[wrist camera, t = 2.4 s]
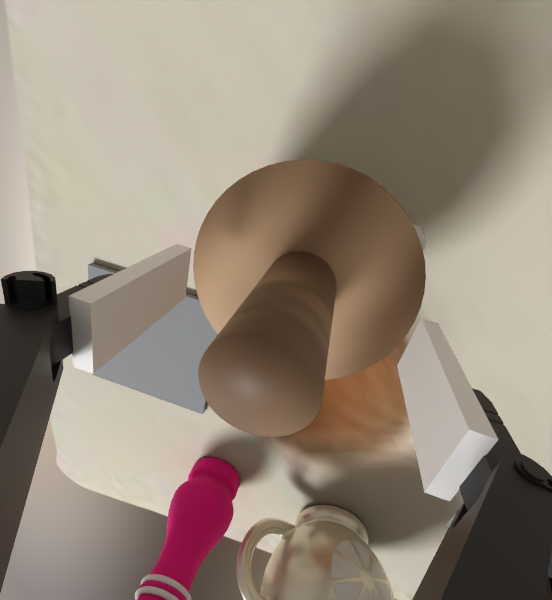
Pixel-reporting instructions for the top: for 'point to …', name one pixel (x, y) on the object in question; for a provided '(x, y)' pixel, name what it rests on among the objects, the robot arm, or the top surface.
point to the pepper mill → (192, 529)
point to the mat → (164, 354)
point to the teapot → (315, 559)
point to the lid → (301, 289)
